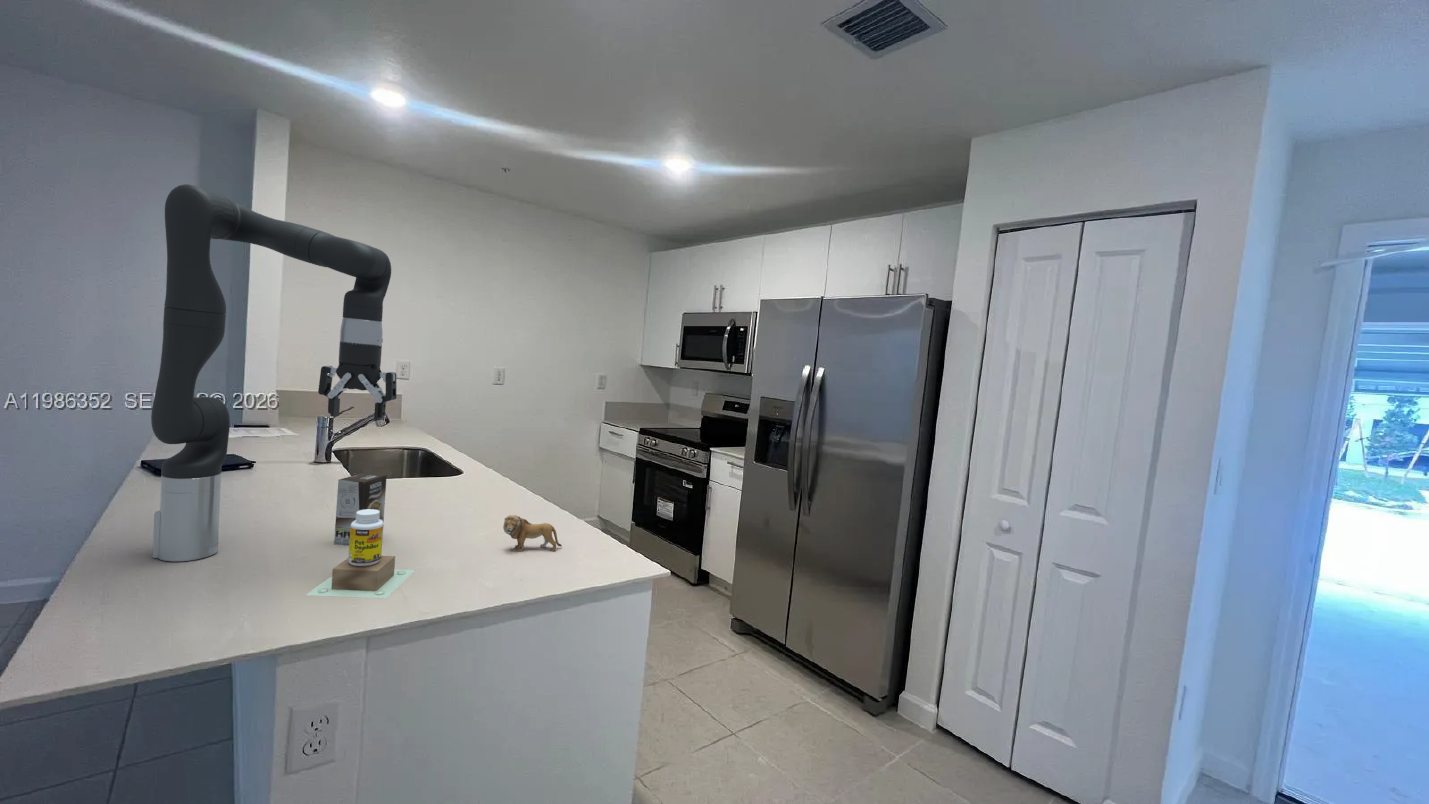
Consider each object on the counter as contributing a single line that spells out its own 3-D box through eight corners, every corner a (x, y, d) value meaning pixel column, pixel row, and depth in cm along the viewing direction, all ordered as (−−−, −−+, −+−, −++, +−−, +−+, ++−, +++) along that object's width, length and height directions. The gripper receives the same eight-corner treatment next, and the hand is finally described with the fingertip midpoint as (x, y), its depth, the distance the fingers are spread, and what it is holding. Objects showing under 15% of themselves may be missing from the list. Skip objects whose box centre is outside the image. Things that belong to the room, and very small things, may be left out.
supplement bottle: (348, 569, 108) (351, 516, 107) (348, 558, 113) (350, 508, 112) (382, 565, 111) (385, 514, 110) (380, 556, 116) (383, 507, 115)
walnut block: (331, 589, 108) (332, 568, 107) (352, 573, 115) (353, 554, 115) (376, 591, 109) (377, 570, 108) (394, 575, 117) (395, 556, 116)
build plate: (304, 601, 104) (305, 593, 104) (343, 572, 118) (343, 565, 118) (386, 604, 106) (386, 596, 106) (414, 575, 120) (415, 568, 120)
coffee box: (360, 550, 130) (364, 482, 129) (332, 547, 131) (336, 479, 129) (384, 538, 140) (388, 474, 138) (358, 535, 140) (362, 471, 139)
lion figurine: (502, 554, 137) (505, 518, 137) (500, 547, 142) (502, 512, 141) (563, 551, 144) (566, 516, 143) (559, 544, 148) (562, 510, 148)
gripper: (314, 337, 114) (309, 417, 115) (389, 345, 116) (384, 423, 117) (333, 338, 121) (329, 413, 122) (404, 345, 123) (399, 419, 124)
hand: (356, 418), depth 120 cm, fingers open, 8 cm apart
